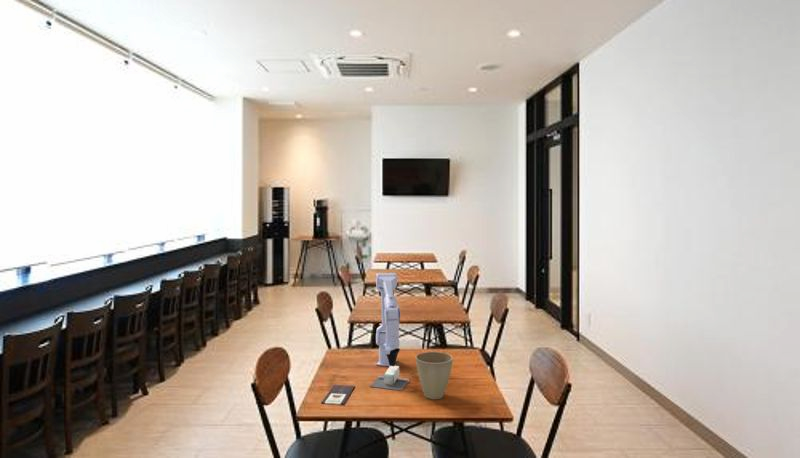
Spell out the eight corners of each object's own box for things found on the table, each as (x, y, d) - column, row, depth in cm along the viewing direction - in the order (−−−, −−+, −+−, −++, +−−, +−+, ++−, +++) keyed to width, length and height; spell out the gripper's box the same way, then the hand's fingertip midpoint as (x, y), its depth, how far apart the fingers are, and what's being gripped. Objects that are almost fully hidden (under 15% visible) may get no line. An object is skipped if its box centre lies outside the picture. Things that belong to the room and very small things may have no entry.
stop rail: (378, 378, 216) (378, 375, 216) (408, 381, 212) (408, 378, 212) (377, 379, 215) (377, 376, 215) (407, 382, 211) (407, 380, 211)
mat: (377, 379, 215) (377, 378, 215) (407, 383, 211) (407, 382, 211) (369, 386, 206) (369, 386, 206) (401, 390, 202) (401, 390, 202)
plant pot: (460, 398, 195) (460, 358, 194) (429, 406, 187) (429, 365, 186) (437, 386, 207) (437, 349, 206) (408, 393, 199) (408, 355, 199)
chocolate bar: (354, 386, 206) (343, 403, 188) (354, 388, 206) (343, 406, 188) (334, 384, 207) (321, 402, 190) (334, 387, 207) (321, 404, 190)
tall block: (390, 365, 216) (383, 375, 208) (399, 366, 215) (392, 376, 207) (390, 373, 217) (384, 384, 209) (399, 374, 216) (393, 385, 208)
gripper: (389, 329, 220) (389, 359, 221) (377, 338, 206) (378, 370, 207) (403, 331, 218) (403, 361, 218) (393, 340, 204) (393, 371, 205)
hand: (392, 365), depth 212 cm, fingers closed
